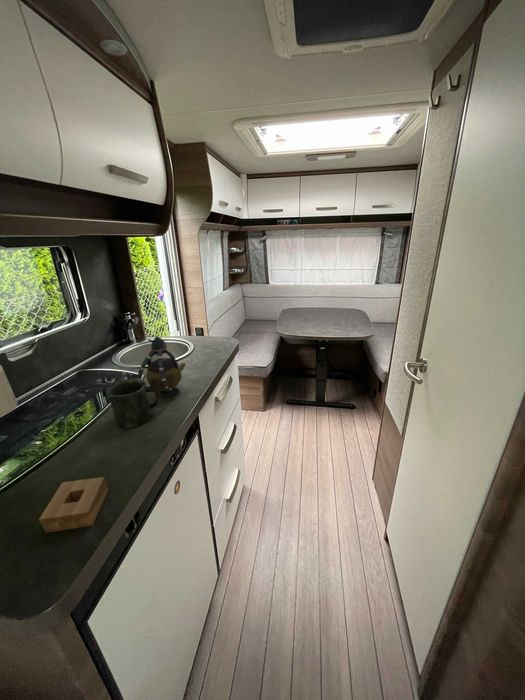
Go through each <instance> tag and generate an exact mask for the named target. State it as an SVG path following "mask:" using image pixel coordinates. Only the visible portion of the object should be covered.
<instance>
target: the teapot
mask: <svg viewBox="0 0 525 700" xmlns="http://www.w3.org/2000/svg"><path fill="white" fill-rule="evenodd" d="M147 341H149V342H150V343H151V345H150V347H151V348H150V349H151V350H150V351H149V353H148V355H147V356H146V357H145V358H144V359H143V361H142V363H141V365H140V367H139V369H138V373H137V377H136V379H141V380H143V379H142V377H143V374H144V371H145V368H146V367H147V368H146V375H145V377H146V381H147V383H148V385H149V386H147V385H146V386H145V389H147V388H155V389H157V390H158V392H159V401H158V402H169V401H173V400H175V399H177V398H178V397H179V396H180V395H181V389H180V388H178V387H177V386H178V385H179V384H180V382H181V380H182V372H183V371H184V369H185V367H186V363H185V362H181V363H180V365H179V363H178V362H177V359H176V358H175V356H174V355H173V354H172V353H171V351H169V350H167V349H168V346H167V344H166V342H165V340H164V339H162V338H161V337H159V336H156V337H154V338H153V340H152V339H147ZM164 354H166V355H167V356H168V357H163V356H162V355H164ZM155 355H156V356H157V359H155V360H153V361H152V358H153V357H154V356H155ZM154 394H155V395H154V398H155V400H156V399H157V395H156V393H154ZM176 397H177V398H176ZM174 398H175V399H174ZM168 400H169V401H168Z"/></svg>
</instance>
